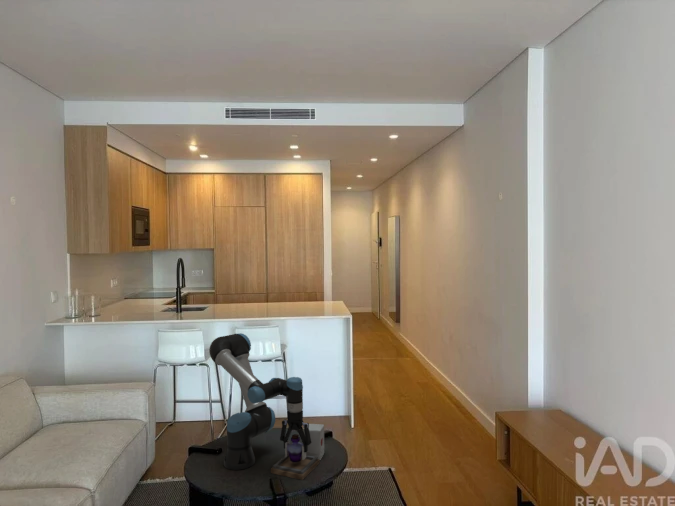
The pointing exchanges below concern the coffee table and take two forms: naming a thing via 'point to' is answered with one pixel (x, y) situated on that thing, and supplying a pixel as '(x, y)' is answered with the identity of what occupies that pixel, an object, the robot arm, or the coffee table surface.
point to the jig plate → (295, 467)
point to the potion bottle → (295, 448)
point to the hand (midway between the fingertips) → (295, 456)
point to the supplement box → (316, 440)
